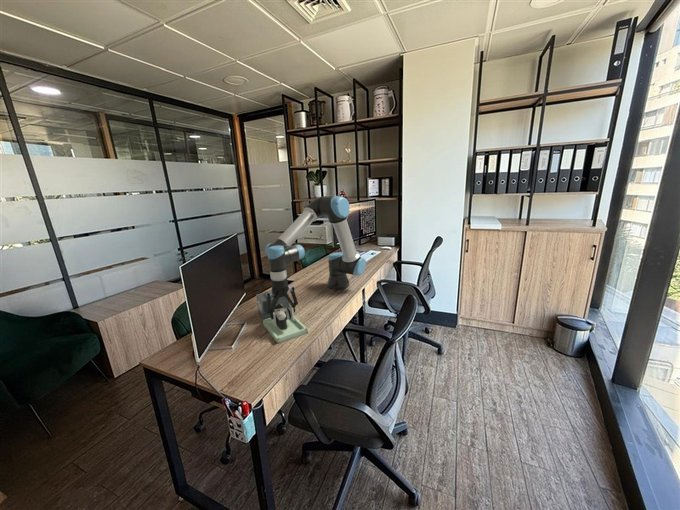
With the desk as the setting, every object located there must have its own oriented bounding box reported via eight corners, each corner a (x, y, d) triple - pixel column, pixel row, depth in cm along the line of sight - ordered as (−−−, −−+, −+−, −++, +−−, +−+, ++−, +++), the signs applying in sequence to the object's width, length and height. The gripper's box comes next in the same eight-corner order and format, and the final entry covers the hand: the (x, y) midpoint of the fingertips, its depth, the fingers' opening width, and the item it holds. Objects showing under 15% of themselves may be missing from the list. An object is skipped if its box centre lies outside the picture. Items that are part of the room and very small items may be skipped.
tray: (290, 316, 150) (289, 311, 150) (307, 333, 132) (307, 328, 132) (263, 324, 143) (262, 320, 142) (277, 343, 125) (277, 339, 124)
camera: (297, 326, 133) (295, 308, 131) (279, 332, 129) (277, 313, 126) (286, 314, 147) (284, 296, 144) (270, 319, 142) (267, 301, 140)
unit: (284, 307, 162) (282, 287, 159) (292, 314, 152) (290, 293, 149) (258, 314, 154) (255, 293, 151) (264, 323, 144) (261, 301, 141)
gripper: (296, 271, 139) (300, 312, 145) (254, 281, 128) (260, 325, 134) (302, 275, 133) (306, 318, 139) (258, 286, 122) (265, 331, 128)
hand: (283, 321), depth 137 cm, fingers closed on camera, 9 cm apart
